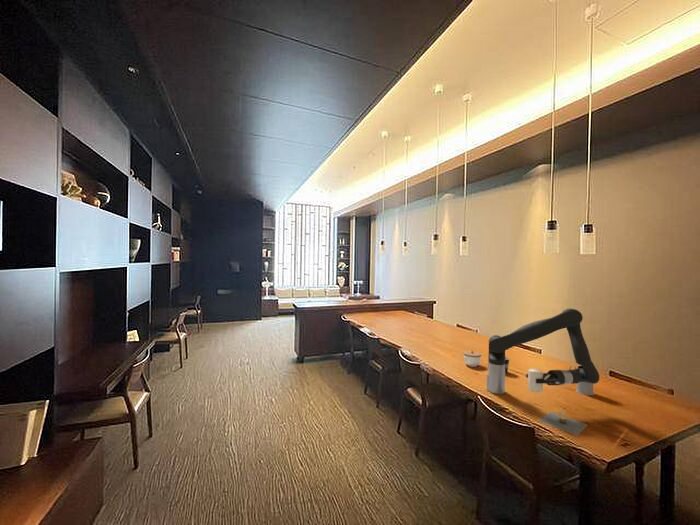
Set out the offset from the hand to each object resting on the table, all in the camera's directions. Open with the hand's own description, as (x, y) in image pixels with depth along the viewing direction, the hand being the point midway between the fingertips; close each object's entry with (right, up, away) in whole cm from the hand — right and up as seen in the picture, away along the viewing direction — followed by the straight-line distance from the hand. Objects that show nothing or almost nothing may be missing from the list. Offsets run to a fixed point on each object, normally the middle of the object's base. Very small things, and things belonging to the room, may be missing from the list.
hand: (531, 378), depth 164 cm
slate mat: (+9, -18, -11) cm, 23 cm away
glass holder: (+46, -18, +28) cm, 57 cm away
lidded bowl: (-2, -18, +74) cm, 76 cm away
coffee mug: (+13, -18, +60) cm, 64 cm away
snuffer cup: (+2, -6, 0) cm, 6 cm away
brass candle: (+9, -17, -11) cm, 22 cm away
